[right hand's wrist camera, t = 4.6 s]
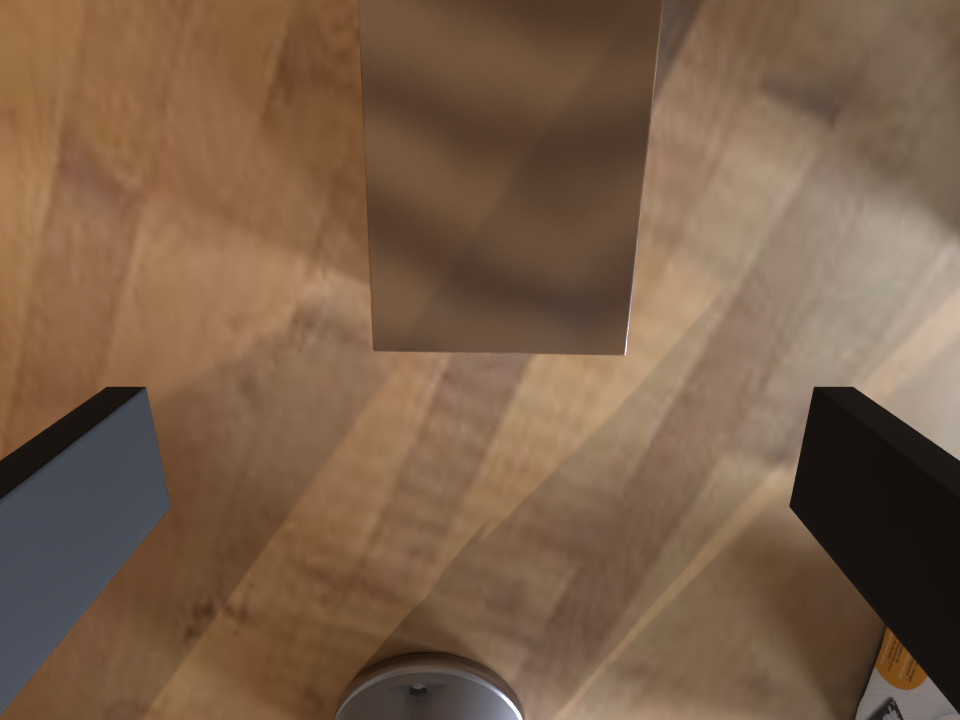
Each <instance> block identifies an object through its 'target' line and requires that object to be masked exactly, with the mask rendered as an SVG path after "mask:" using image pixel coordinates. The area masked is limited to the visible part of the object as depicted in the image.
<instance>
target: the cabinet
mask: <svg viewBox="0 0 960 720" xmlns="http://www.w3.org/2000/svg"><path fill="white" fill-rule="evenodd" d="M663 3H664V0H358V11H359V34H360V57H361V80H362V104H363V127H364V150H365V173H366V196H367V219H368V243H369V266H370V289H371V312H372V335H373V350H374V351H389V352H446V353H502V354H559V355H616V356H624V355H626V347H627V338H628V329H629V319H630V310H631V301H632V291H633V282H634V273H635V263H636V254H637V245H638V236H639V226H640V217H641V208H642V198H643V189H644V180H645V170H646V161H647V152H648V142H649V133H650V124H651V114H652V105H653V96H654V87H655V77H656V68H657V59H658V49H659V40H660V31H661V21H662V12H663Z"/></svg>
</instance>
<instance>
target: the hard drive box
mask: <svg viewBox="0 0 960 720" xmlns="http://www.w3.org/2000/svg"><path fill="white" fill-rule="evenodd" d="M855 720H960V715H959V713H958V712H957V711H956V710H955V709H954V707H953V706H952V705H951V704H950V702H949V701H948V700H947V699H946V698H945V696H944V695H943V694H942V693H941V691H940V690H939V689H938V688H937V687H936V685H935V684H934V683H933V682H932V680H931V679H930V678H929V677H928V676H927V674H926V673H925V672H924V671H923V669H922V668H921V667H920V666H919V665H918V663H917V662H916V661H915V660H914V658H913V657H912V656H911V655H910V654H909V652H908V651H907V650H906V649H905V647H904V646H903V645H902V644H901V643H900V641H899V640H898V639H897V638H896V636H895V635H894V634H893V633H892V631H891V630H890V629H889V628H888V627H887V628H886V631H885V634H884V638H883V644H882V647H881V650H880V653H879V655H878V658H877V661H876V664H875V666H874V669H873V672H872V675H871V678H870V680H869V683H868V686H867V688H866V691H865V694H864V696H863V698H862V699H861V701H860V704H859V707H858V710H857V714H856V719H855Z"/></svg>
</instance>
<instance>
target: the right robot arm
mask: <svg viewBox="0 0 960 720" xmlns="http://www.w3.org/2000/svg"><path fill="white" fill-rule="evenodd" d="M170 507H171V506H170V501H169V496H168V491H167V487H166V482H165V477H164V472H163V467H162V462H161V457H160V453H159V448H158V443H157V438H156V433H155V428H154V423H153V419H152V414H151V409H150V404H149V399H148V394H147V389H146V387H106V388H105V389H103V390H102V391H100V392H99V393H97V394H96V395H95V396H93V397H92V398H90V399H89V400H87V401H86V402H84V403H83V404H82V405H80V406H79V407H77V408H76V409H74V410H73V411H71V412H70V413H69V414H67V415H66V416H64V417H63V418H61V419H60V420H58V421H57V422H56V423H54V424H53V425H51V426H50V427H48V428H47V429H46V430H44V431H43V432H41V433H40V434H38V435H37V436H35V437H34V438H33V439H31V440H30V441H28V442H27V443H25V444H24V445H22V446H21V447H20V448H18V449H17V450H15V451H14V452H12V453H11V454H9V455H8V456H7V457H5V458H4V459H2V460H1V461H0V715H1V713H2V712H3V711H4V710H5V709H6V707H7V706H8V705H9V704H10V702H11V701H12V700H13V699H14V698H15V696H16V695H17V694H18V693H19V691H20V690H21V689H22V688H23V687H24V685H25V684H26V683H27V682H28V680H29V679H30V678H31V677H32V676H33V674H34V673H35V672H36V671H37V669H38V668H39V667H40V666H41V665H42V663H43V662H44V661H45V660H46V658H47V657H48V656H49V655H50V654H51V652H52V651H53V650H54V649H55V647H56V646H57V645H58V644H59V642H60V641H61V640H62V639H63V638H64V636H65V635H66V634H67V633H68V631H69V630H70V629H71V628H72V627H73V625H74V624H75V623H76V622H77V620H78V619H79V618H80V617H81V616H82V614H83V613H84V612H85V611H86V609H87V608H88V607H89V606H90V605H91V603H92V602H93V601H94V600H95V598H96V597H97V596H98V595H99V594H100V592H101V591H102V590H103V589H104V587H105V586H106V585H107V584H108V583H109V581H110V580H111V579H112V578H113V576H114V575H115V574H116V573H117V572H118V570H119V569H120V568H121V567H122V565H123V564H124V563H125V562H126V561H127V559H128V558H129V557H130V556H131V554H132V553H133V552H134V551H135V550H136V548H137V547H138V546H139V545H140V543H141V542H142V541H143V540H144V539H145V537H146V536H147V535H148V534H149V532H150V531H151V530H152V529H153V528H154V526H155V525H156V524H157V523H158V521H159V520H160V519H161V518H162V517H163V515H164V514H165V513H166V512H167V510H168V509H169V508H170ZM789 507H790V508H791V509H792V510H793V512H794V513H795V514H796V515H797V517H798V518H799V519H800V520H801V521H802V523H803V524H804V525H805V526H806V528H807V529H808V530H809V531H810V532H811V534H812V535H813V536H814V537H815V539H816V540H817V541H818V542H819V543H820V545H821V546H822V547H823V548H824V550H825V551H826V552H827V553H828V554H829V556H830V557H831V558H832V559H833V561H834V562H835V563H836V564H837V565H838V567H839V568H840V569H841V570H842V572H843V573H844V574H845V575H846V576H847V578H848V579H849V580H850V581H851V583H852V584H853V585H854V586H855V587H856V589H857V590H858V591H859V592H860V594H861V595H862V596H863V597H864V598H865V600H866V601H867V602H868V603H869V605H870V606H871V607H872V608H873V609H874V611H875V612H876V613H877V614H878V616H879V617H880V618H881V619H882V620H883V622H884V623H885V624H886V625H887V627H888V628H889V629H890V630H891V631H892V633H893V634H894V635H895V636H896V638H897V639H898V640H899V641H900V643H901V644H902V645H903V646H904V647H905V649H906V650H907V651H908V652H909V654H910V655H911V656H912V657H913V658H914V660H915V661H916V662H917V663H918V665H919V666H920V667H921V668H922V669H923V671H924V672H925V673H926V674H927V676H928V677H929V678H930V679H931V680H932V682H933V683H934V684H935V685H936V687H937V688H938V689H939V690H940V691H941V693H942V694H943V695H944V696H945V698H946V699H947V700H948V701H949V702H950V704H951V705H952V706H953V707H954V709H955V710H956V711H957V712H958V713H959V715H960V461H959V460H958V459H956V458H955V457H953V456H952V455H951V454H949V453H948V452H946V451H945V450H943V449H942V448H940V447H939V446H938V445H936V444H935V443H933V442H932V441H930V440H929V439H927V438H926V437H925V436H923V435H922V434H920V433H919V432H917V431H916V430H914V429H913V428H912V427H910V426H909V425H907V424H906V423H904V422H903V421H902V420H900V419H899V418H897V417H896V416H894V415H893V414H891V413H890V412H889V411H887V410H886V409H884V408H883V407H881V406H880V405H878V404H877V403H876V402H874V401H873V400H871V399H870V398H868V397H867V396H865V395H864V394H863V393H861V392H860V391H858V390H857V389H855V388H854V387H814V389H813V394H812V399H811V404H810V409H809V414H808V419H807V423H806V428H805V433H804V438H803V443H802V448H801V453H800V457H799V462H798V467H797V472H796V477H795V482H794V487H793V491H792V496H791V501H790V506H789ZM334 720H525V718H524V713H523V709H522V706H521V704H520V701H519V699H518V697H517V696H516V694H515V693H514V691H513V690H512V689H511V687H510V686H509V685H508V684H507V683H506V682H505V681H504V680H503V679H502V678H501V677H499V676H498V675H497V674H495V673H494V672H492V671H491V670H489V669H487V668H486V667H484V666H482V665H480V664H478V663H475V662H473V661H470V660H467V659H464V658H460V657H456V656H452V655H445V654H435V653H419V654H410V655H404V656H399V657H395V658H392V659H389V660H386V661H383V662H381V663H379V664H376V665H374V666H373V667H371V668H369V669H367V670H366V671H364V672H363V673H362V674H360V675H359V676H358V677H357V678H356V679H354V680H353V681H352V683H351V684H350V685H349V686H348V687H347V689H346V690H345V691H344V693H343V695H342V697H341V699H340V701H339V703H338V707H337V711H336V715H335V719H334Z"/></svg>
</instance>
